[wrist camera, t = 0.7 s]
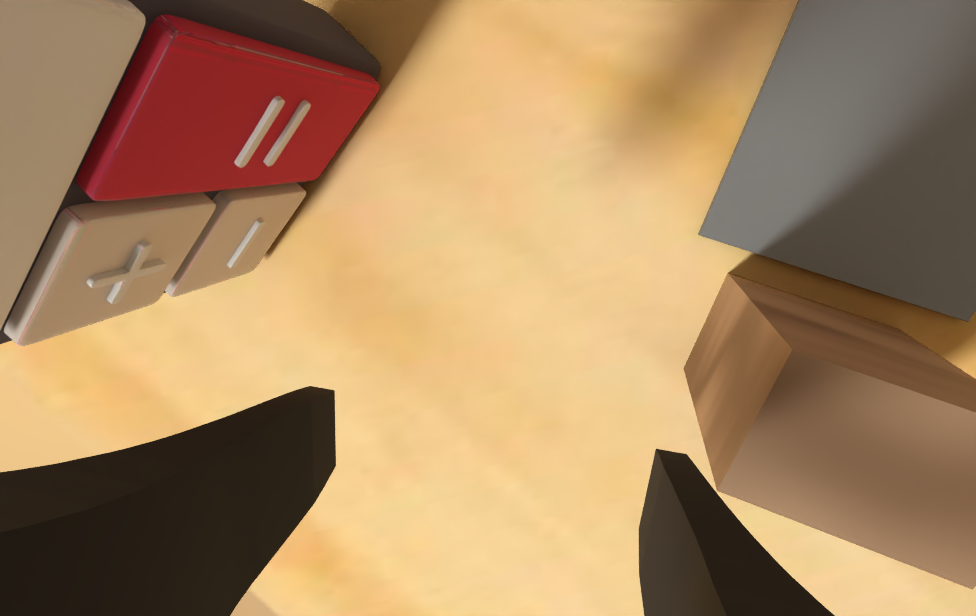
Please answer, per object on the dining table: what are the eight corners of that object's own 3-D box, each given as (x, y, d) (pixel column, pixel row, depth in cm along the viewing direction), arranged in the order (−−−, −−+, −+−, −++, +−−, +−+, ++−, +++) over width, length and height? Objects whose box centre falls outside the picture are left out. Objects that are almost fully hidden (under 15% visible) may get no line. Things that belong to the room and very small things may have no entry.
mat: (962, 319, 18) (967, 321, 18) (698, 233, 19) (699, 234, 19) (1198, -50, 14) (1210, -54, 14) (853, -126, 16) (856, -131, 15)
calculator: (258, 280, 24) (-240, 459, 10) (188, 214, 24) (-410, 304, 10) (401, 79, 20) (-96, -77, 6) (317, 0, 20) (-374, -339, 6)
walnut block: (842, 425, 20) (972, 588, 12) (683, 368, 21) (717, 491, 13) (899, 329, 19) (1083, 450, 11) (727, 272, 19) (792, 349, 12)
